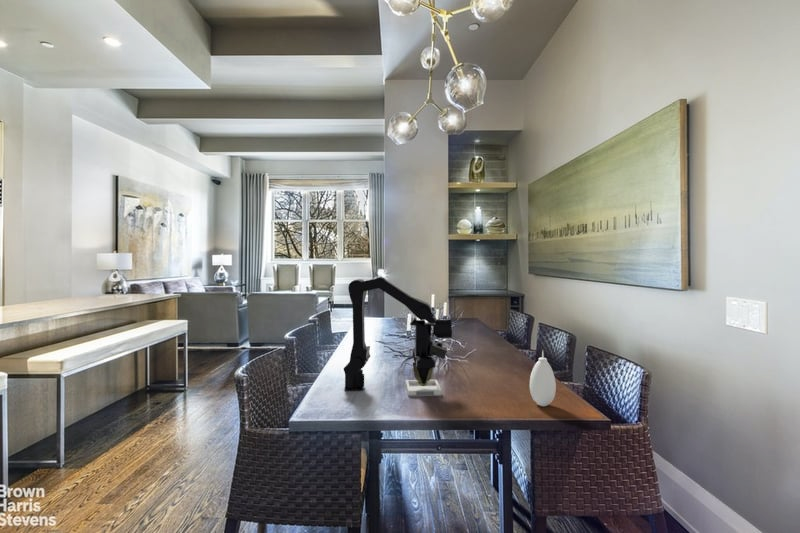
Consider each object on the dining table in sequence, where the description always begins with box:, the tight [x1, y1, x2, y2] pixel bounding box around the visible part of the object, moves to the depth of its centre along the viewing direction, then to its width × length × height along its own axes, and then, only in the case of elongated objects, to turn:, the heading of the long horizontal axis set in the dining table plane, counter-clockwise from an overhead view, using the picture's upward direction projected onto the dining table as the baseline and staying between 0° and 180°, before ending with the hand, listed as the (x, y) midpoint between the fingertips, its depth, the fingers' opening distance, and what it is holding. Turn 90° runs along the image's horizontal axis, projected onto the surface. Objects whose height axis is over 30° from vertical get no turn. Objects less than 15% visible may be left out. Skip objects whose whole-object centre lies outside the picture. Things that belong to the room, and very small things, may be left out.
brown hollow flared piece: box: [412, 361, 434, 386], centre depth 137 cm, size 8×7×8 cm
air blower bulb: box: [529, 350, 557, 407], centre depth 124 cm, size 8×8×18 cm
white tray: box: [405, 379, 443, 397], centre depth 137 cm, size 12×12×2 cm
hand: (422, 380), depth 137 cm, fingers closed on brown hollow flared piece, 6 cm apart
